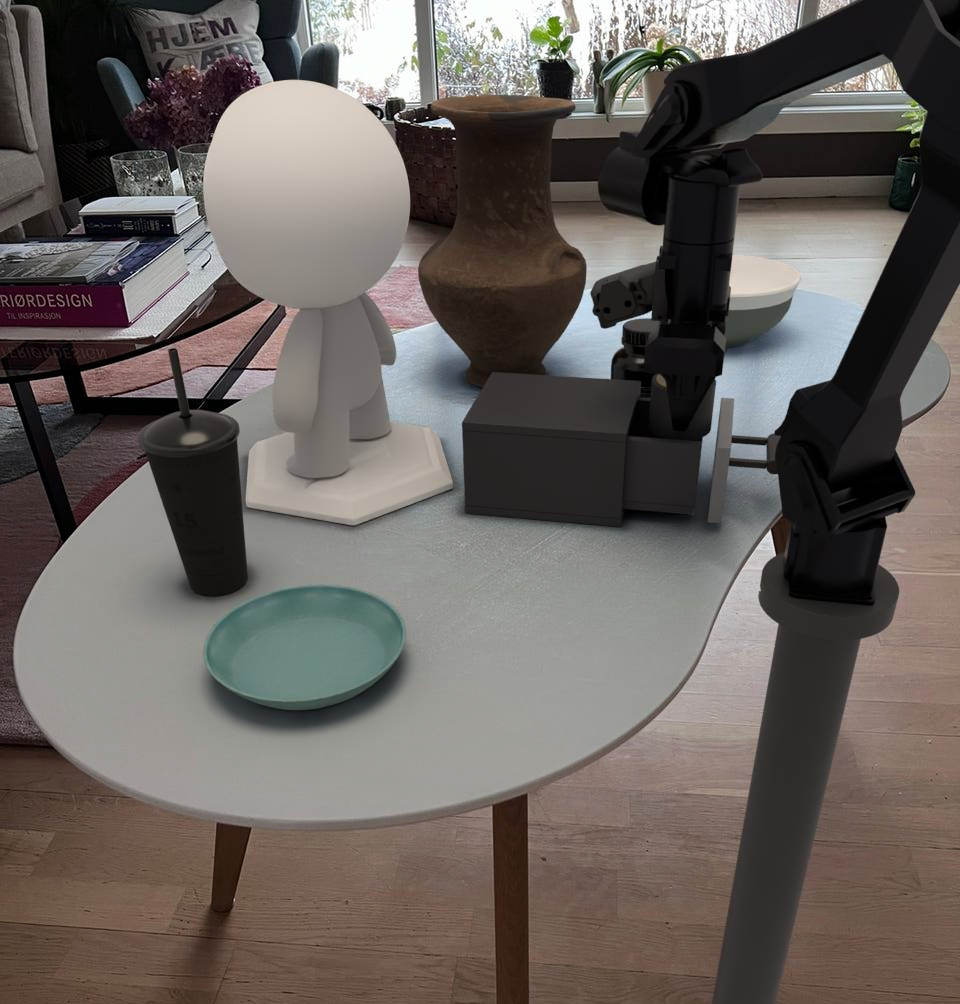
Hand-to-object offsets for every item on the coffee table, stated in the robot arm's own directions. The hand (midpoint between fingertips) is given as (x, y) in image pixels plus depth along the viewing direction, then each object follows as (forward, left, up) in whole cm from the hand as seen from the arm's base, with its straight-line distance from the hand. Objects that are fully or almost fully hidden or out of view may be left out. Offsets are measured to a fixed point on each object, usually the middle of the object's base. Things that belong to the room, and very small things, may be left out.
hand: (681, 417), depth 92 cm
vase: (+23, -29, -8) cm, 38 cm away
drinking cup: (+37, +22, -8) cm, 44 cm away
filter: (0, 0, -1) cm, 1 cm away
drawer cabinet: (+12, 0, -8) cm, 14 cm away
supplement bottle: (+5, -14, -8) cm, 17 cm away
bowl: (-2, -48, -8) cm, 49 cm away
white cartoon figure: (+33, 0, -8) cm, 34 cm away
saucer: (+25, +32, -8) cm, 41 cm away
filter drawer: (0, 0, -7) cm, 7 cm away
